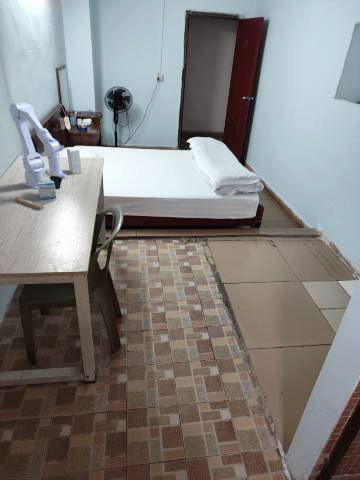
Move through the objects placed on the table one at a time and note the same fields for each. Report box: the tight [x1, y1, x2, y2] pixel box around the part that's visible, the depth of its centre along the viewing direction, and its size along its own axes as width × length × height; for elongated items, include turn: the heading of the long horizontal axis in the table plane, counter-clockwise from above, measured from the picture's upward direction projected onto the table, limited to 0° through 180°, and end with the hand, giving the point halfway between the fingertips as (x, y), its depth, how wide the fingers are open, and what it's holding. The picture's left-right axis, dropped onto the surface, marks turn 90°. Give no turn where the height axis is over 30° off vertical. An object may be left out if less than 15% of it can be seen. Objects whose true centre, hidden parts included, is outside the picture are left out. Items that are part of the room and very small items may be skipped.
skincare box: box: [66, 147, 83, 175], centre depth 208 cm, size 8×6×15 cm
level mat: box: [14, 194, 56, 211], centre depth 170 cm, size 18×13×2 cm
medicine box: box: [38, 180, 57, 200], centre depth 173 cm, size 8×4×9 cm, turn 117°
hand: (57, 188), depth 180 cm, fingers closed
